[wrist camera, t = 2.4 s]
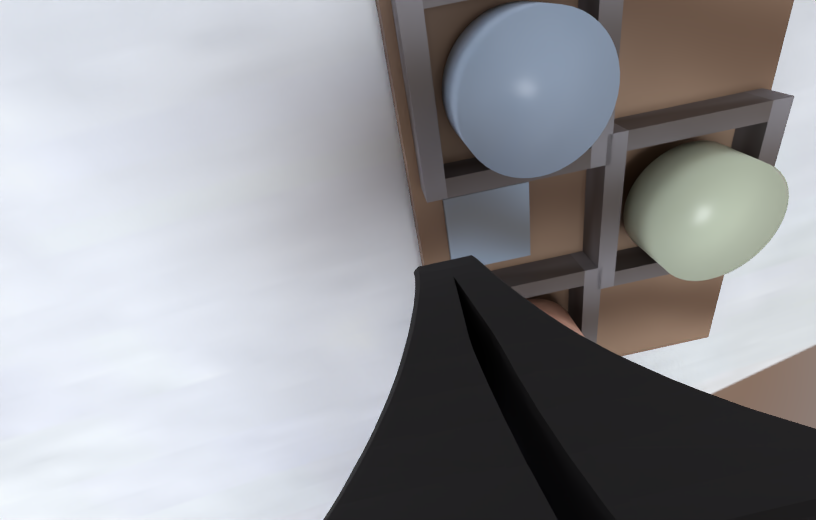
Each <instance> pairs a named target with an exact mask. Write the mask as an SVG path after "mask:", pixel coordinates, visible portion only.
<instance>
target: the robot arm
mask: <svg viewBox="0 0 816 520" xmlns="http://www.w3.org/2000/svg"><path fill="white" fill-rule="evenodd" d="M414 275H415V299H414V307H413V313H412V318H411V324H410V329H409V333H408V337H407V341H406V345H405V348H404V352H403V356H402V359H401V363H400V366H399V369H398V372H397V375H396V378H395V381H394V383H393V386H392V389H391V391H390V394H389V396H388V399H387V401H386V404H385V406H384V408H383V411H382V413H381V415H380V417H379V420H378V422H377V424H376V426H375V429H374V431H373V433H372V435H371V437H370V439H369V441H368V443H367V445H366V447H365V449H364V451H363V453H362V454H361V456H360V458H359V460H358V462H357V463H356V465H355V467H354V469H353V471H352V473H351V474H350V476H349V478H348V480H347V482H346V483H345V485H344V487H343V489H342V491H341V492H340V494H339V496H338V497H337V499H336V501H335V502H334V504H333V506H332V507H331V509H330V510H329V512H328V513H327V515H326V516H325V518H324V520H816V429H815V428H811V427H808V426H805V425H801V424H798V423H795V422H792V421H788V420H785V419H782V418H779V417H776V416H772V415H769V414H766V413H763V412H759V411H756V410H753V409H750V408H747V407H744V406H741V405H738V404H736V403H733V402H730V401H728V400H725V399H722V398H719V397H717V396H714V395H711V394H708V393H706V392H703V391H700V390H697V389H695V388H692V387H690V386H687V385H685V384H682V383H680V382H677V381H675V380H672V379H670V378H668V377H665V376H663V375H661V374H659V373H656V372H654V371H652V370H650V369H647V368H645V367H643V366H641V365H638V364H636V363H634V362H632V361H630V360H628V359H625V358H623V357H621V356H619V355H617V354H615V353H613V352H611V351H609V350H607V349H606V348H604V347H602V346H600V345H598V344H596V343H594V342H593V341H591V340H589V339H587V338H585V337H583V336H581V335H580V334H578V333H576V332H575V331H573V330H571V329H570V328H568V327H567V326H565V325H563V324H562V323H560V322H559V321H557V320H556V319H554V318H553V317H551V316H550V315H548V314H547V313H545V312H544V311H542V310H541V309H539V308H538V307H537V306H535V305H534V304H533V303H531V302H530V301H528V300H527V299H526V298H524V297H523V296H522V295H520V294H519V293H518V292H516V291H515V290H514V289H513V288H511V287H510V286H509V285H507V284H506V283H505V282H504V281H503V280H501V279H500V278H499V277H498V276H496V275H495V274H494V273H493V272H492V271H491V270H489V269H488V268H487V267H486V266H485V265H484V264H483V263H481V262H480V261H479V260H478V259H477V258H475V257H474V256H472V255H470V256H465V257H461V258H456V259H452V260H447V261H442V262H438V263H433V264H429V265H424V266H420V267H418V268H417V269H416V270H415V271H414Z"/></svg>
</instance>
